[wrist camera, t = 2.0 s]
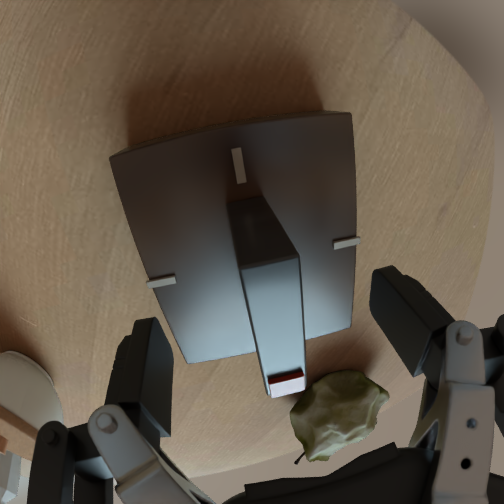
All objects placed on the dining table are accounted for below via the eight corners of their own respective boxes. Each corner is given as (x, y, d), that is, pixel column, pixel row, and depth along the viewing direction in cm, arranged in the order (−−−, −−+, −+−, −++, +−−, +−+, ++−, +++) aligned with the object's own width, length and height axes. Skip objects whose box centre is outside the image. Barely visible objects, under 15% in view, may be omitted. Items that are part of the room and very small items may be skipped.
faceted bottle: (32, 446, 28) (19, 548, 8) (19, 445, 28) (5, 538, 9) (3, 426, 25) (-17, 532, 5) (-7, 427, 25) (-27, 522, 6)
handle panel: (125, 147, 12) (104, 158, 10) (326, 110, 13) (356, 112, 10) (186, 330, 18) (185, 367, 15) (335, 298, 19) (353, 329, 16)
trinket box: (-21, 358, 17) (-51, 423, 9) (-4, 311, 15) (-53, 398, 7) (54, 413, 22) (39, 481, 14) (92, 386, 20) (75, 479, 12)
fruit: (290, 413, 28) (292, 475, 21) (286, 358, 24) (289, 435, 17) (370, 402, 27) (385, 461, 20) (385, 346, 23) (411, 414, 16)
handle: (225, 202, 11) (238, 273, 7) (264, 195, 11) (303, 259, 7) (249, 315, 14) (268, 401, 10) (279, 308, 14) (309, 392, 10)
